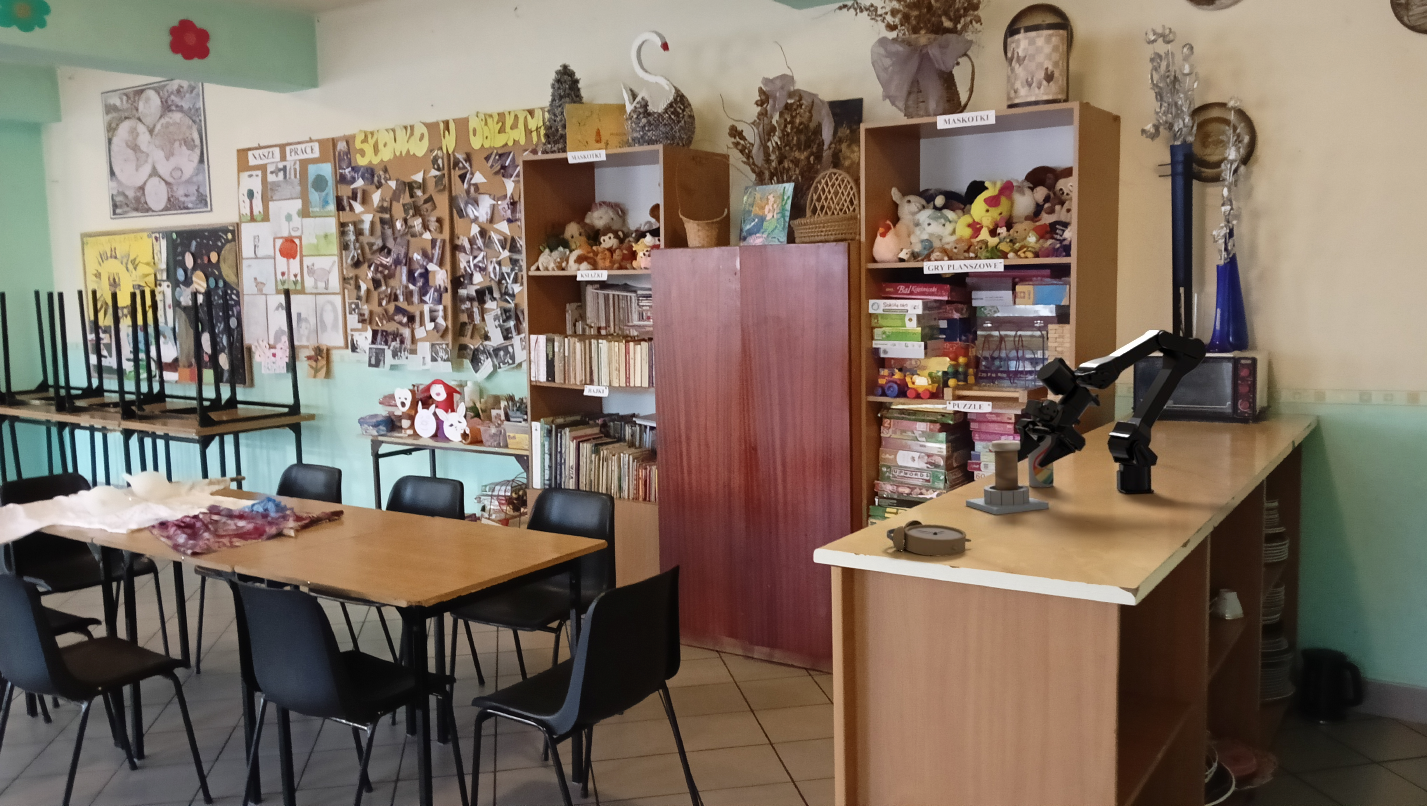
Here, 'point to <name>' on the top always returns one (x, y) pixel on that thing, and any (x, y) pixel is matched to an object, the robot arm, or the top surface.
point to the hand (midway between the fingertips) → (1027, 463)
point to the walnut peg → (1006, 464)
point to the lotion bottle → (1037, 474)
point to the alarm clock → (928, 539)
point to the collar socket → (1006, 501)
